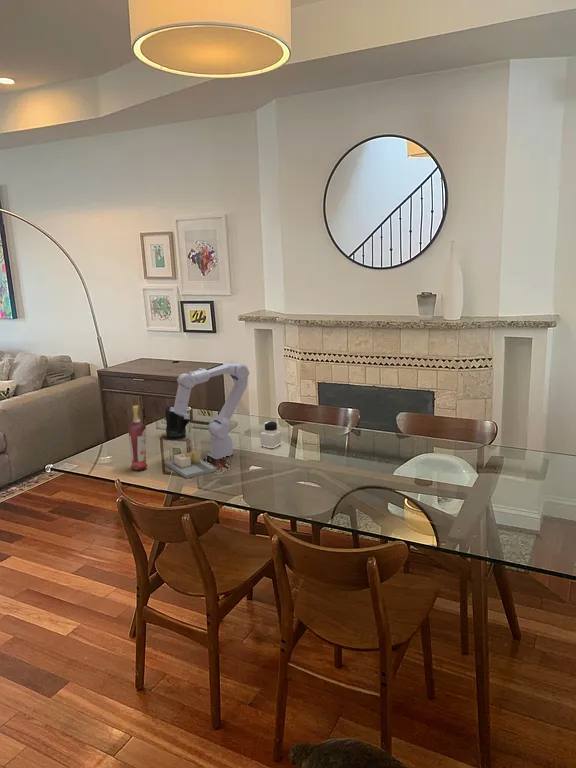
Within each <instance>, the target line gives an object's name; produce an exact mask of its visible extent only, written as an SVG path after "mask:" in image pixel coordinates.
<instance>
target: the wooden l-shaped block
mask: <svg viewBox="0 0 576 768" xmlns="http://www.w3.org/2000/svg"><path fill="white" fill-rule="evenodd" d="M184 454H185V456H187V457H188V456H190V458H191V463H192V464H199V463H200V459H201V452H200V451H198V450H192V451H190V452H187V453H184Z"/></svg>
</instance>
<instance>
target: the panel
mask: <svg viewBox="0 0 576 768" xmlns="http://www.w3.org/2000/svg"><path fill="white" fill-rule="evenodd" d="M188 457H190V456H188ZM164 465H165V467H167V468H169V469H171V470H172V471H173V472H175V473H177V474H179V476H181V477H183V478H185V479H189V478H193V477H194V478H195V477H198V476H202V475H207V474H210V473H214V472H216V469H217V468H216V467H215V466H213V465H211V464H210V463H207V462H206V461H204V460H202V459H201V458H200V463H199V464H192V463H191V466H188V467H183V468H181V467H179V466H178V465H176V464H174V459H170V460H169V459H168V460H166V461H164Z"/></svg>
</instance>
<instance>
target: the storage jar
mask: <svg viewBox="0 0 576 768" xmlns="http://www.w3.org/2000/svg"><path fill="white" fill-rule="evenodd" d="M170 407H174V405H170V406H166V407H165V415H164V416H165V421H166V423H165V424H166V427H165V433H166V439H168V440H171V441H178V440H179V439H180V440H184V439H186V437H187V435H186V433H187V429H186V427H187V426H186V427H185V429H184V431H183V433H182V434H177V427H178V421H177V422H176V426H175V428H174V429H169V418H168V414H167V413H168V412H169V413H170ZM179 417H181V416H179ZM183 438H184V439H183Z"/></svg>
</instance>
